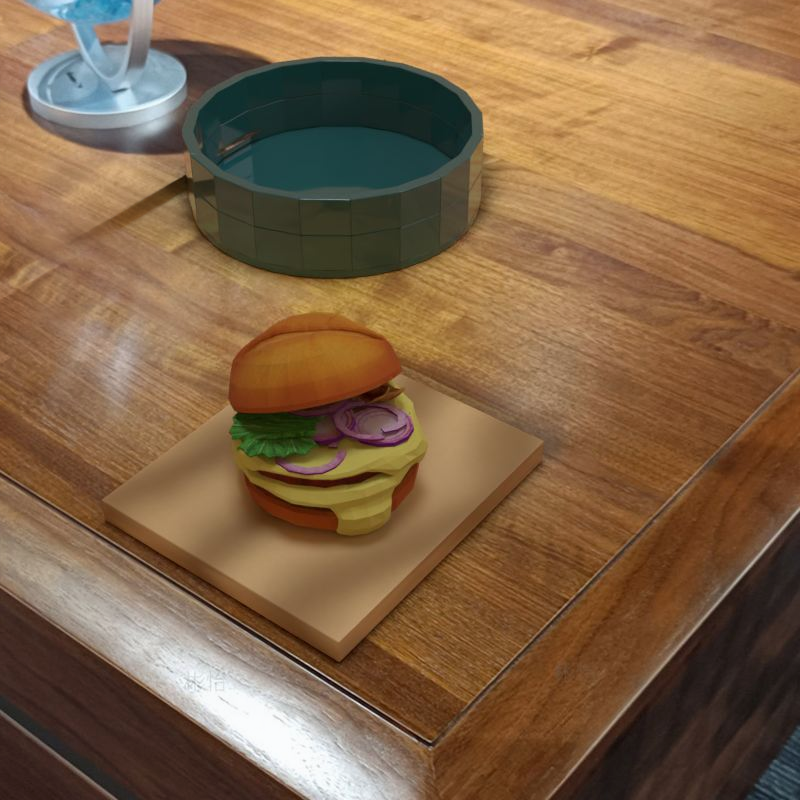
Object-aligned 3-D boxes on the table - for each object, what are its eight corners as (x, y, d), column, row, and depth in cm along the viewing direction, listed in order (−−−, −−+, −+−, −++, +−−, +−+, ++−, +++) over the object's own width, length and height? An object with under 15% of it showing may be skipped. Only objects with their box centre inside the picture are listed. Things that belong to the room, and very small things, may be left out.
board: (104, 520, 72) (100, 499, 71) (321, 355, 83) (320, 335, 82) (339, 663, 64) (338, 642, 63) (542, 460, 75) (544, 440, 74)
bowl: (131, 211, 96) (120, 135, 92) (317, 103, 108) (314, 32, 104) (359, 315, 86) (358, 235, 82) (534, 183, 99) (540, 108, 95)
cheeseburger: (275, 575, 66) (242, 394, 62) (214, 482, 75) (181, 318, 71) (461, 514, 69) (442, 337, 65) (381, 432, 78) (359, 272, 74)
